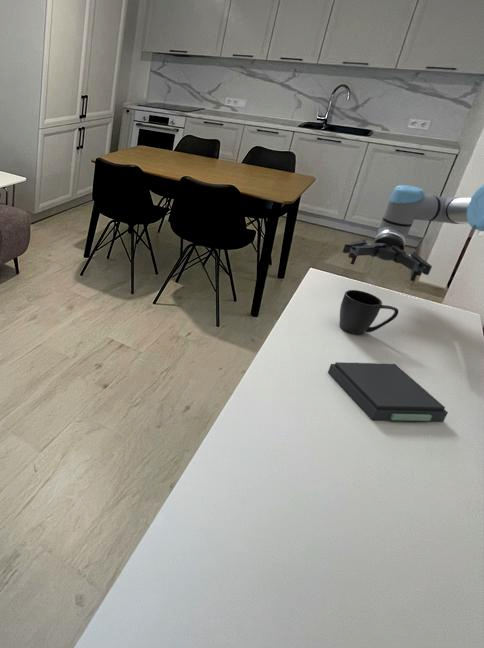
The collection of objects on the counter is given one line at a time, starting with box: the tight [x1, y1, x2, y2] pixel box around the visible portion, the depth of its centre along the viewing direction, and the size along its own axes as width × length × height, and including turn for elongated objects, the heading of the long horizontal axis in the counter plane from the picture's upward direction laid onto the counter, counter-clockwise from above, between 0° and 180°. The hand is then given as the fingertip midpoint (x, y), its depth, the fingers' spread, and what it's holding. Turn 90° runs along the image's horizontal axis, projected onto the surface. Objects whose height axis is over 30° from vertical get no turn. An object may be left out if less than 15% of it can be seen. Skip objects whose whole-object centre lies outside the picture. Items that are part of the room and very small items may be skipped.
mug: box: [339, 289, 399, 336], centre depth 127 cm, size 8×12×10 cm
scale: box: [327, 361, 449, 423], centre depth 104 cm, size 16×15×3 cm
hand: (383, 267), depth 130 cm, fingers open, 13 cm apart
